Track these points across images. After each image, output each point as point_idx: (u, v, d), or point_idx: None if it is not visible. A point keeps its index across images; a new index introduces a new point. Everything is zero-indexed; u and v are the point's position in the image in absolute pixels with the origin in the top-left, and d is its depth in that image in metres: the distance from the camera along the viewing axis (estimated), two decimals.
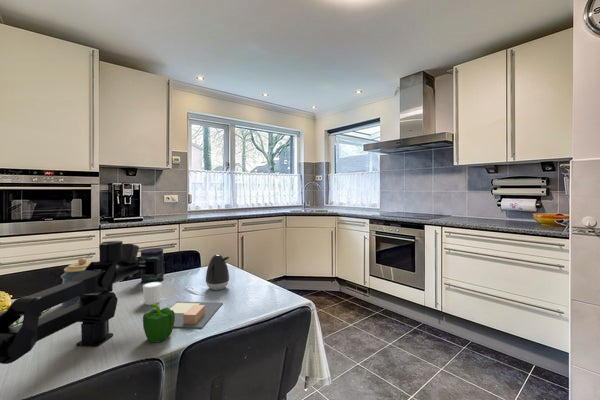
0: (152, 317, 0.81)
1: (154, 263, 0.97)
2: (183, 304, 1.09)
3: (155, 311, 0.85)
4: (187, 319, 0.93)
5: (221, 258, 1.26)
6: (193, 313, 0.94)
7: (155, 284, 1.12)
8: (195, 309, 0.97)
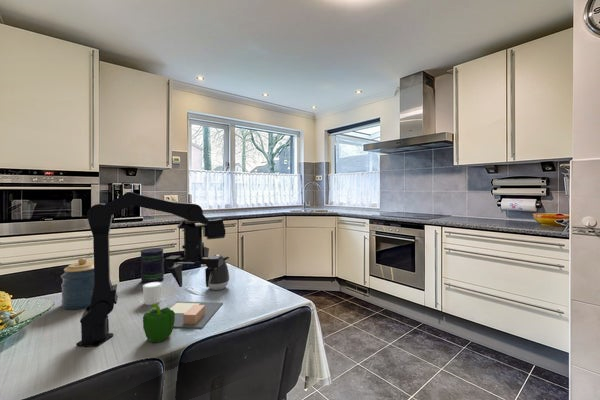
0: (152, 317, 0.81)
1: (220, 256, 0.97)
2: (183, 304, 1.09)
3: (155, 311, 0.85)
4: (187, 319, 0.93)
5: None
6: (193, 313, 0.94)
7: (155, 284, 1.12)
8: (195, 309, 0.97)
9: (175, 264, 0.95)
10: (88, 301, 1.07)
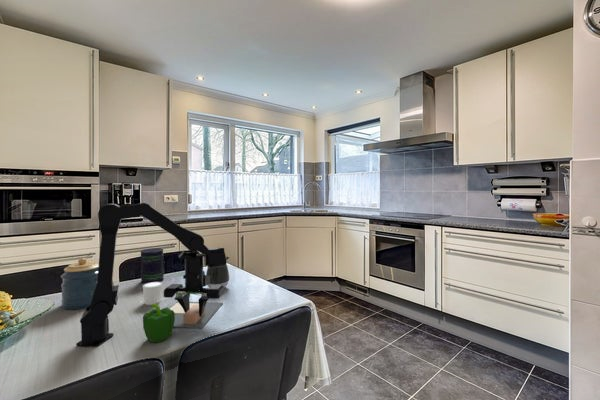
0: (152, 317, 0.81)
1: (221, 285, 0.97)
2: None
3: (155, 311, 0.85)
4: (187, 319, 0.93)
5: None
6: (193, 313, 0.94)
7: (155, 284, 1.12)
8: (195, 309, 0.97)
9: (176, 293, 0.95)
10: (88, 301, 1.07)
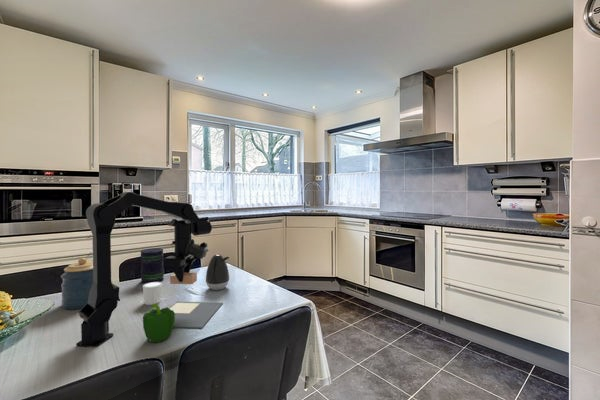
0: (152, 317, 0.81)
1: (175, 258, 0.95)
2: (183, 304, 1.09)
3: (155, 311, 0.85)
4: None
5: (221, 258, 1.26)
6: (174, 274, 1.03)
7: (155, 284, 1.12)
8: None
9: None
10: None
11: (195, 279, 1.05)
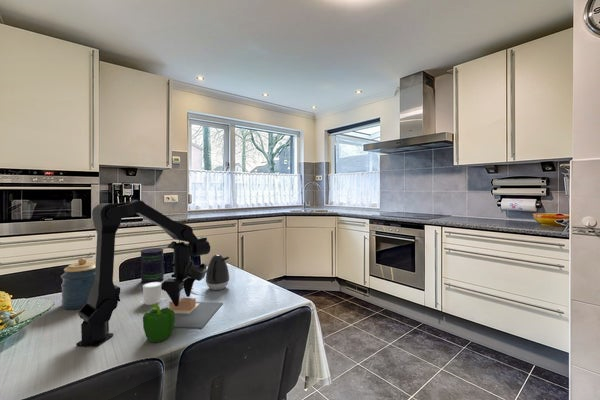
0: (152, 317, 0.81)
1: (174, 281, 0.96)
2: None
3: (155, 311, 0.85)
4: None
5: (221, 258, 1.26)
6: None
7: (155, 284, 1.12)
8: (181, 300, 1.05)
9: None
10: None
11: (194, 305, 1.06)
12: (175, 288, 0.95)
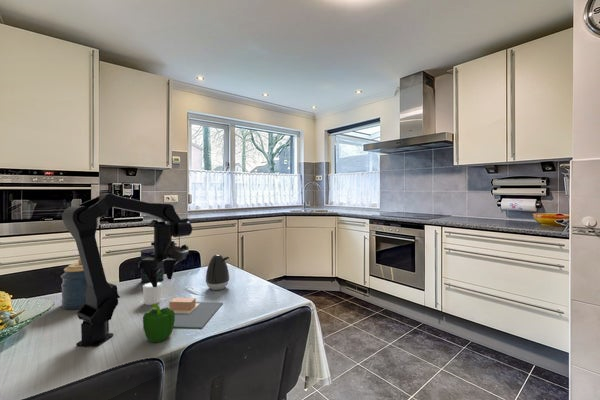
0: (152, 317, 0.81)
1: (152, 260, 0.92)
2: None
3: (155, 311, 0.85)
4: None
5: (221, 258, 1.26)
6: (173, 300, 1.04)
7: None
8: (181, 300, 1.05)
9: None
10: None
11: (194, 305, 1.06)
12: (153, 267, 0.92)
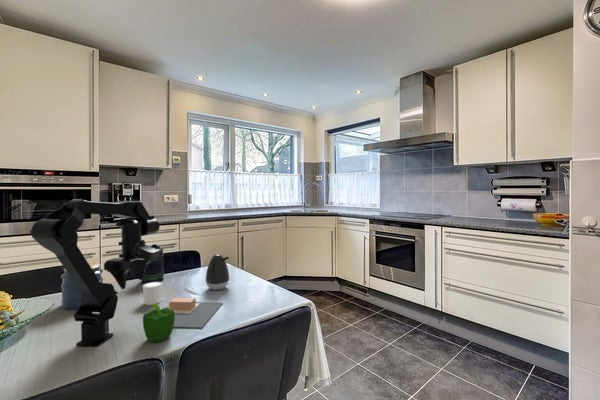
0: (152, 317, 0.81)
1: (118, 261, 0.88)
2: None
3: (155, 311, 0.85)
4: None
5: (221, 258, 1.26)
6: (173, 300, 1.04)
7: (155, 284, 1.12)
8: (181, 300, 1.05)
9: None
10: None
11: (194, 305, 1.06)
12: (119, 268, 0.87)
